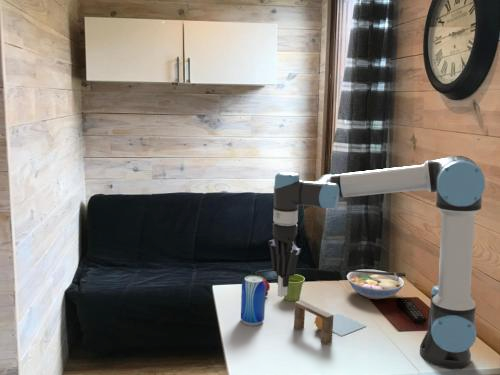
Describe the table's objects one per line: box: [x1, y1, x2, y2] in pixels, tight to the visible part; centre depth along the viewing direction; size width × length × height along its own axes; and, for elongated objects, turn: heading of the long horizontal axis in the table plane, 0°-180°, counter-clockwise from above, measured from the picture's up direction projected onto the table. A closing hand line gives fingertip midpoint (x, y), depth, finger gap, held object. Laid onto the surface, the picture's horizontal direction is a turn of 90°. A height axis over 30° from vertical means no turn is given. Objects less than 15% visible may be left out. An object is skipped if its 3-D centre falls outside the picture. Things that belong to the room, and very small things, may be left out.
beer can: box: [240, 275, 266, 327], centre depth 185 cm, size 8×8×16 cm
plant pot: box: [283, 273, 306, 302], centre depth 207 cm, size 9×9×9 cm
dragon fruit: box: [261, 276, 271, 297], centre depth 209 cm, size 8×8×12 cm
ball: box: [314, 315, 322, 331], centre depth 181 cm, size 6×6×6 cm
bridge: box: [293, 299, 335, 346], centre depth 177 cm, size 3×15×10 cm, turn 39°
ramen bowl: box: [343, 269, 406, 300], centre depth 213 cm, size 25×23×8 cm
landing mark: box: [313, 312, 367, 337], centre depth 186 cm, size 13×13×1 cm
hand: (282, 295), depth 165 cm, fingers closed
